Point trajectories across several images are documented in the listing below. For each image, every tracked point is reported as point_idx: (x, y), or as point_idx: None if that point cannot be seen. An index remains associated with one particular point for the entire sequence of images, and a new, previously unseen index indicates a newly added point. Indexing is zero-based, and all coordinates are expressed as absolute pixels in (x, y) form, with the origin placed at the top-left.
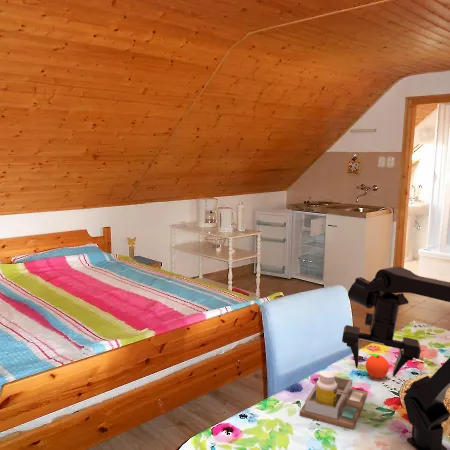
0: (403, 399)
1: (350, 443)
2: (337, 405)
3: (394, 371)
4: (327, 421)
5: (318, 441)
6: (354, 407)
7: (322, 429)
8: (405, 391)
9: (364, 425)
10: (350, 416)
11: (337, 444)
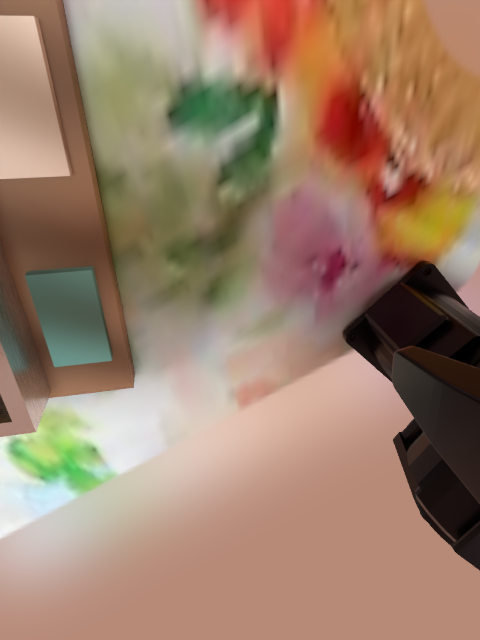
0: (418, 500)
1: (158, 444)
2: (14, 405)
3: (446, 461)
4: None
5: (57, 488)
6: (67, 239)
7: None
8: (463, 556)
9: (166, 321)
10: (96, 352)
11: (121, 469)
